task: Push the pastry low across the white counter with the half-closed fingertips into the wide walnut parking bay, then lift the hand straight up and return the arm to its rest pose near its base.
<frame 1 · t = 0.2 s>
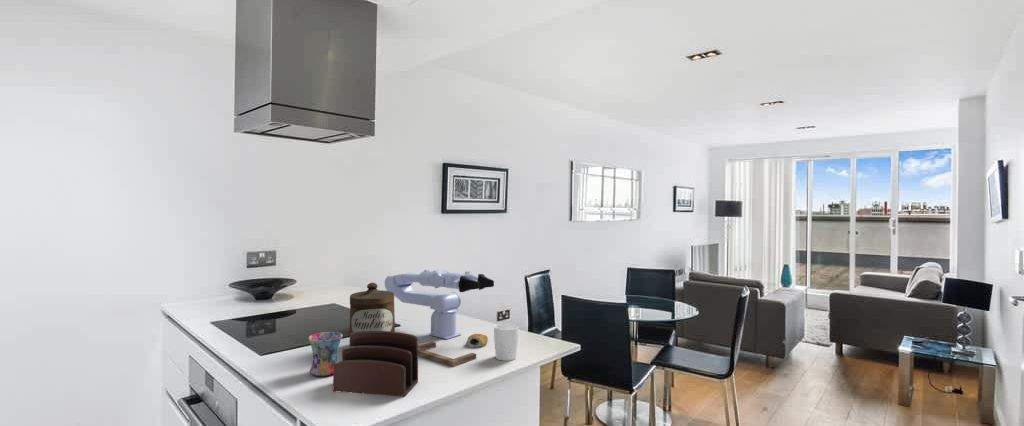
hand: (486, 284, 163), 21 cm above the counter, tool horizontal, fingers open, 7 cm apart
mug: (327, 371, 137), on the counter
parking bay: (448, 353, 154), on the counter
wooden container: (372, 347, 160), on the counter
white cup: (506, 358, 150), on the counter
pastry: (477, 345, 165), on the counter
letter holder: (376, 388, 125), on the counter
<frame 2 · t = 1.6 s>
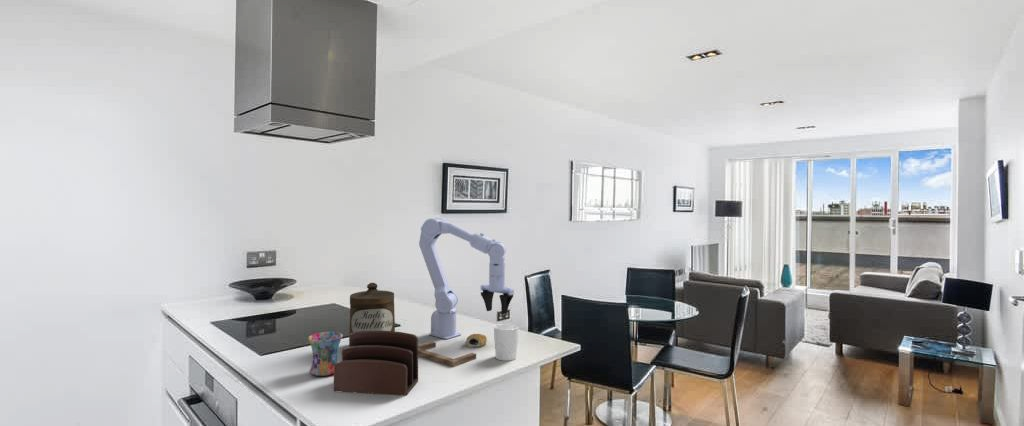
hand: (496, 312, 173), 9 cm above the counter, tool pointing down, fingers open, 7 cm apart
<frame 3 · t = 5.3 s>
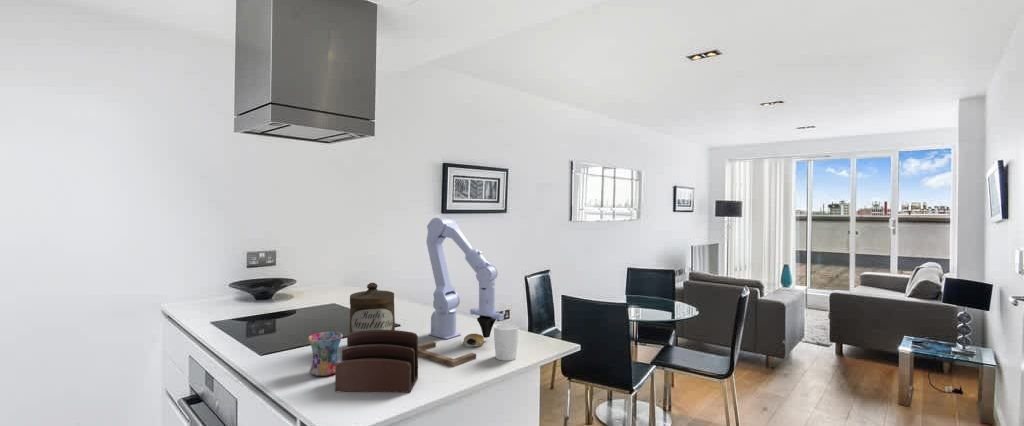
hand: (486, 337, 168), 1 cm above the counter, tool pointing down, fingers closed
pastry: (473, 344, 165), on the counter, touching gripper
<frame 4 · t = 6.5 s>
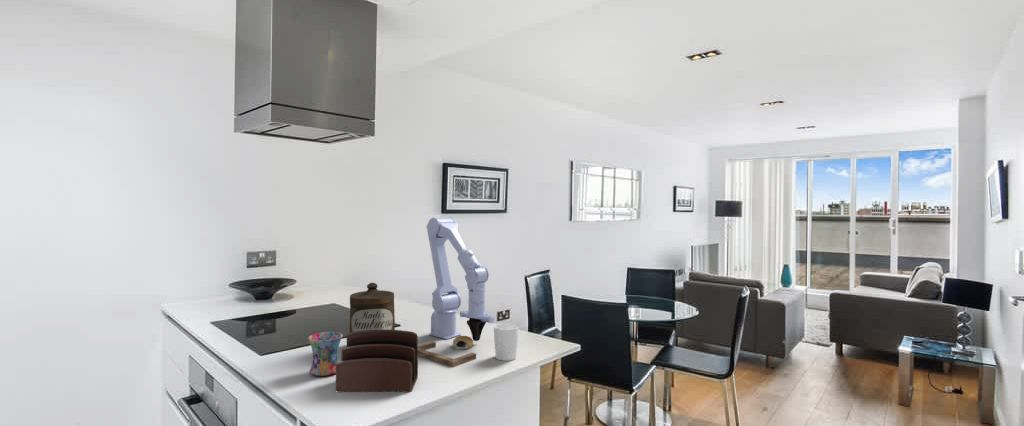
hand: (476, 340, 164), 1 cm above the counter, tool pointing down, fingers closed
pastry: (462, 347, 162), on the counter
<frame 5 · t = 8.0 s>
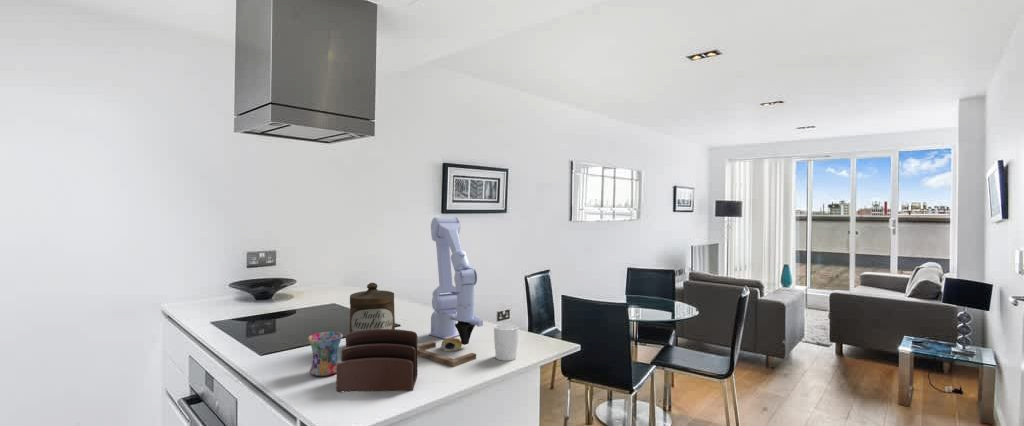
hand: (465, 343, 160), 1 cm above the counter, tool pointing down, fingers closed
pastry: (451, 349, 160), on the counter
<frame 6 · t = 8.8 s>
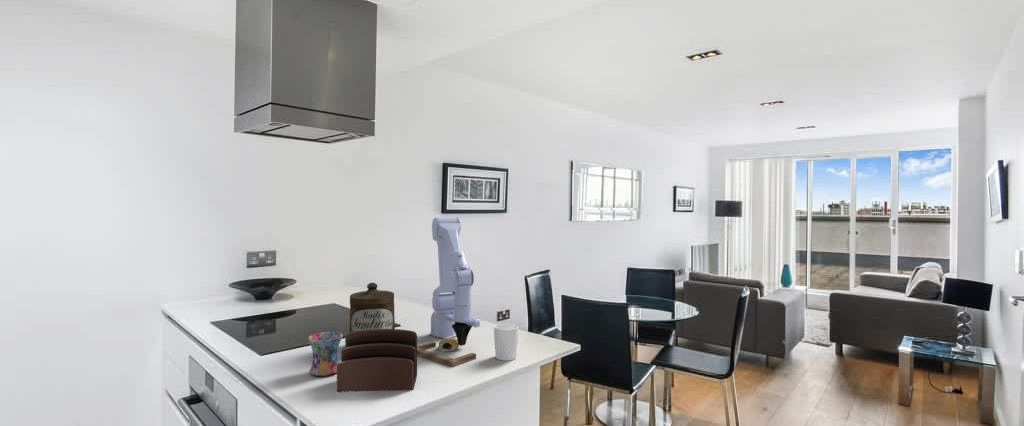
hand: (462, 344, 159), 1 cm above the counter, tool pointing down, fingers closed
pastry: (448, 349, 160), on the counter, touching gripper
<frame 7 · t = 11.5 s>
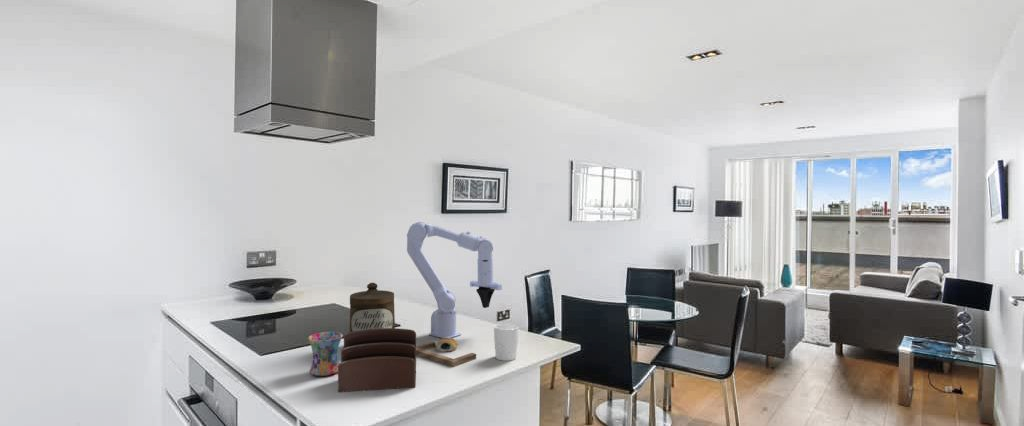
hand: (485, 307, 176), 10 cm above the counter, tool pointing down, fingers closed
pastry: (446, 349, 160), on the counter
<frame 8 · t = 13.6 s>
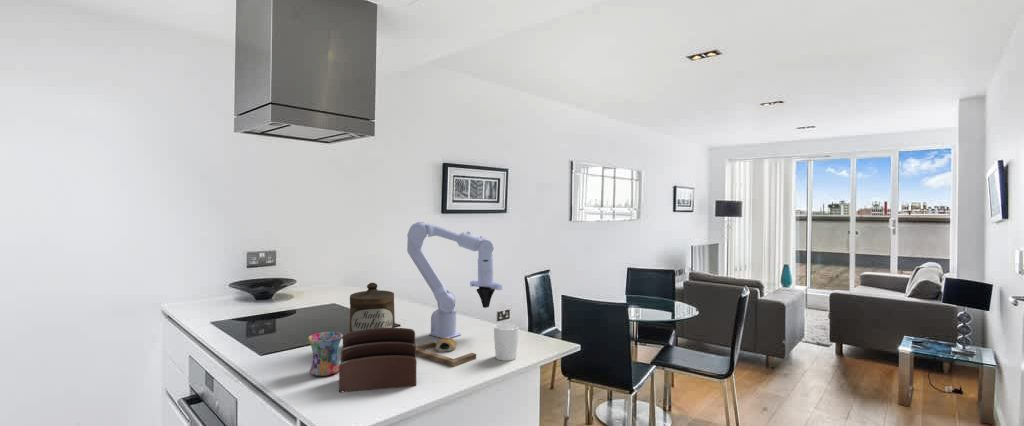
hand: (486, 307, 176), 10 cm above the counter, tool pointing down, fingers closed
at the end: pastry inside the target area (6.7 cm from its centre), on the counter; pastry tilted 0° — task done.
